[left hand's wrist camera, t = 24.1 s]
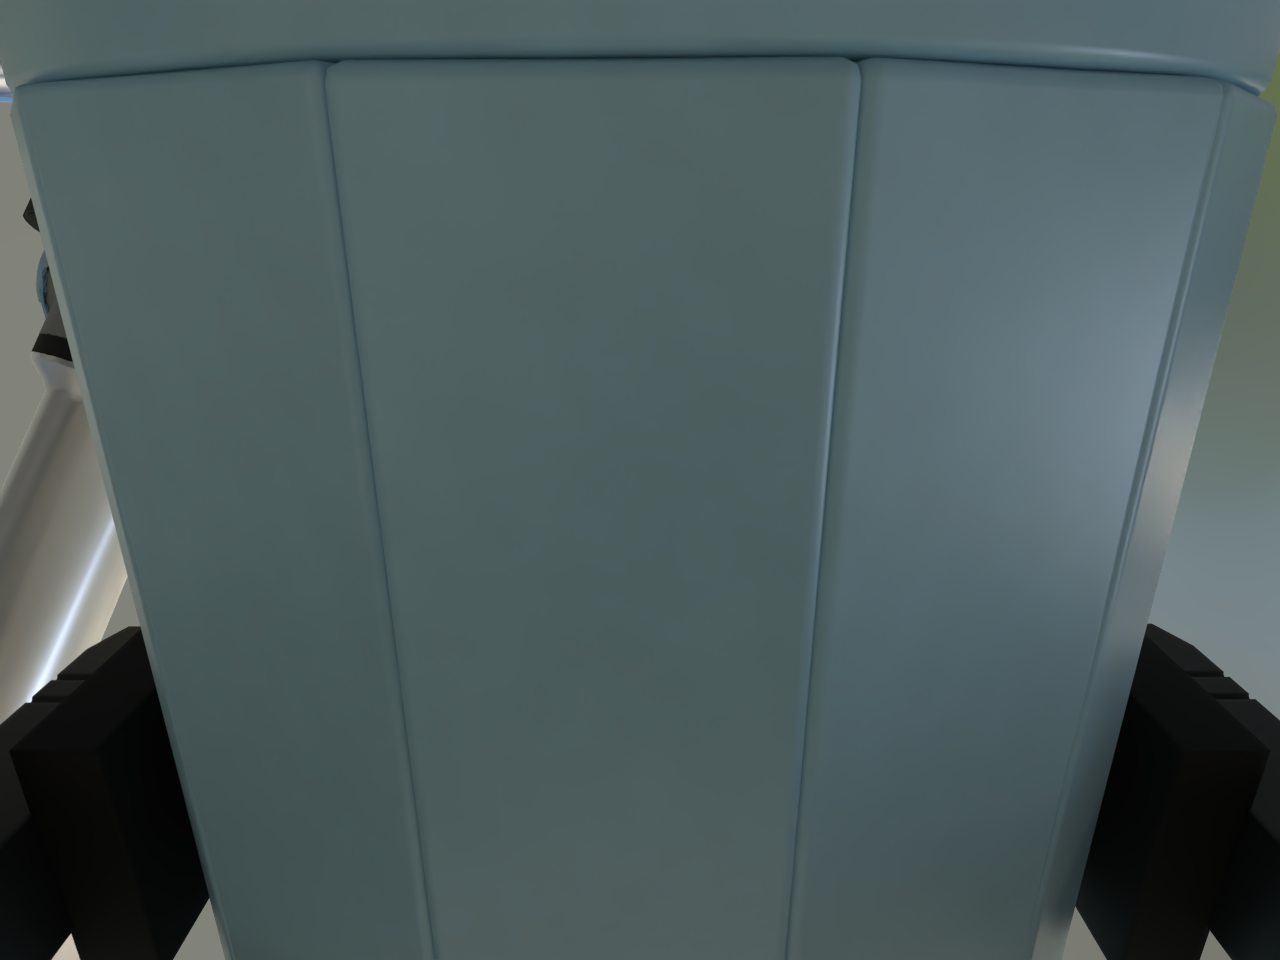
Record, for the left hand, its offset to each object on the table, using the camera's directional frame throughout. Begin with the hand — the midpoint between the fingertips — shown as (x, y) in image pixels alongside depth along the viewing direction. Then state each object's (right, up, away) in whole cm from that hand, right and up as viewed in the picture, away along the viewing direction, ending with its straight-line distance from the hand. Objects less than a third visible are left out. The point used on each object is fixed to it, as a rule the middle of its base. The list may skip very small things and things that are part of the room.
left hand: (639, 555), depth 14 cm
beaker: (0, +5, -7) cm, 8 cm away
